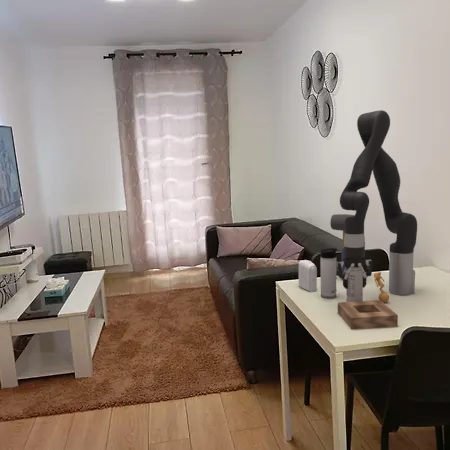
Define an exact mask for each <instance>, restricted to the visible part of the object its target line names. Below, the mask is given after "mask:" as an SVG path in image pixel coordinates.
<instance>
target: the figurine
mask: <svg viewBox="0 0 450 450" xmlns="http://www.w3.org/2000/svg"><path fill="white" fill-rule="evenodd" d="M381 275H382V273H381V271H378V272H375V273H373V277H374V283H375V284H376V287H377V288H379V287H380V288H379V291H380V293H379V294H378V300H381V301H382V302H383V303H387V302H389V301H390V295H389V293H388V292H386V291H385V290H383V288H385V284H384V283H383V282H385V279H383V277H382V276H381ZM382 281H383V282H382Z"/></svg>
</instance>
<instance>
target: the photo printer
mask: <svg viewBox="0 0 450 450" xmlns="http://www.w3.org/2000/svg"><path fill="white" fill-rule="evenodd" d="M317 276H318V269H317V266H316V265H315V263H313V262H312V261H311V260H307V259H304V260H300V261H299V262H298V286H299V287H300V288H302V289H304V290H306V291H308V292H311V293H313V292H316V291H317V289H318V288H317V287H318V286H317V285H318V277H317Z"/></svg>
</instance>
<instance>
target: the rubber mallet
mask: <svg viewBox="0 0 450 450" xmlns="http://www.w3.org/2000/svg"><path fill="white" fill-rule="evenodd" d="M351 216H355V214H343V213H342V214H340V213H338V214H333V215H331V216H330V217H331V218H330V223H329V224H330V228H331V229H332V230H334V231H341V232H342V249H341V255H340V256H341V257H340V260H341V261H340V262H342V261H343V260H344V236H345V219H346V218H347V217H351ZM345 268H346V266H345V265H344V264H343V267H342V268H341V269H342V275H343V273H344V270H345ZM341 279H342V280H343V278H341Z"/></svg>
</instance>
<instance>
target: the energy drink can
mask: <svg viewBox="0 0 450 450" xmlns="http://www.w3.org/2000/svg"><path fill="white" fill-rule="evenodd" d="M347 271H348V269H347ZM347 279H348V289H346V293H345V295H346V301H345V302H355V301H364V300H363V298H364V296H363V295H364V292H363V291H364V289H363V271H362V270H361V268H360V267H353V268H352V269H351V271H350V274H349V275H348V278H347Z"/></svg>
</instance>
